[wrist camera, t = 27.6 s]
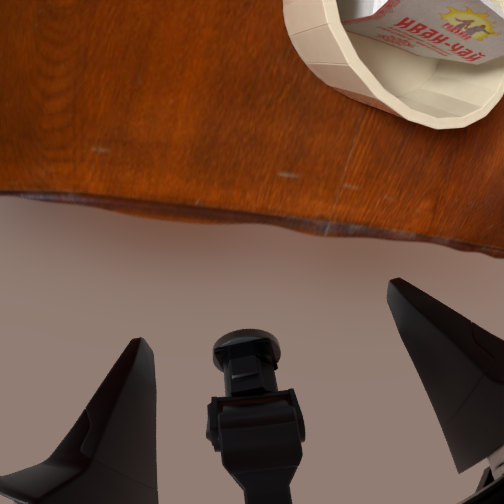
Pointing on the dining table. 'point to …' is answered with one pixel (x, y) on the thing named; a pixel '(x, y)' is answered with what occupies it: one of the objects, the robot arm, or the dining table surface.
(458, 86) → the holder
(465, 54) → the tea bag
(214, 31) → the dining table surface
